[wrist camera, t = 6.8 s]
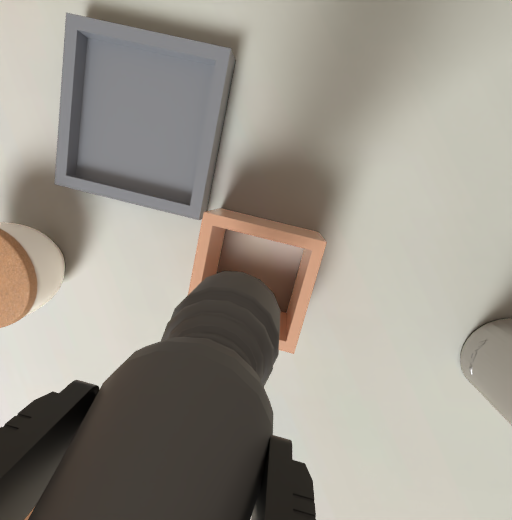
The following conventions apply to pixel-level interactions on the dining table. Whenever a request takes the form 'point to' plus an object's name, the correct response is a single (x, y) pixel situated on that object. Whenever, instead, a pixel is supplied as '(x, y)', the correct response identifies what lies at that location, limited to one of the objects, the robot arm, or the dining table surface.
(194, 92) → the tray
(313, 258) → the square copper bin
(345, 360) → the dining table surface
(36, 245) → the lidded jar
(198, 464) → the candle holder
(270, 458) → the robot arm
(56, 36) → the dining table surface
